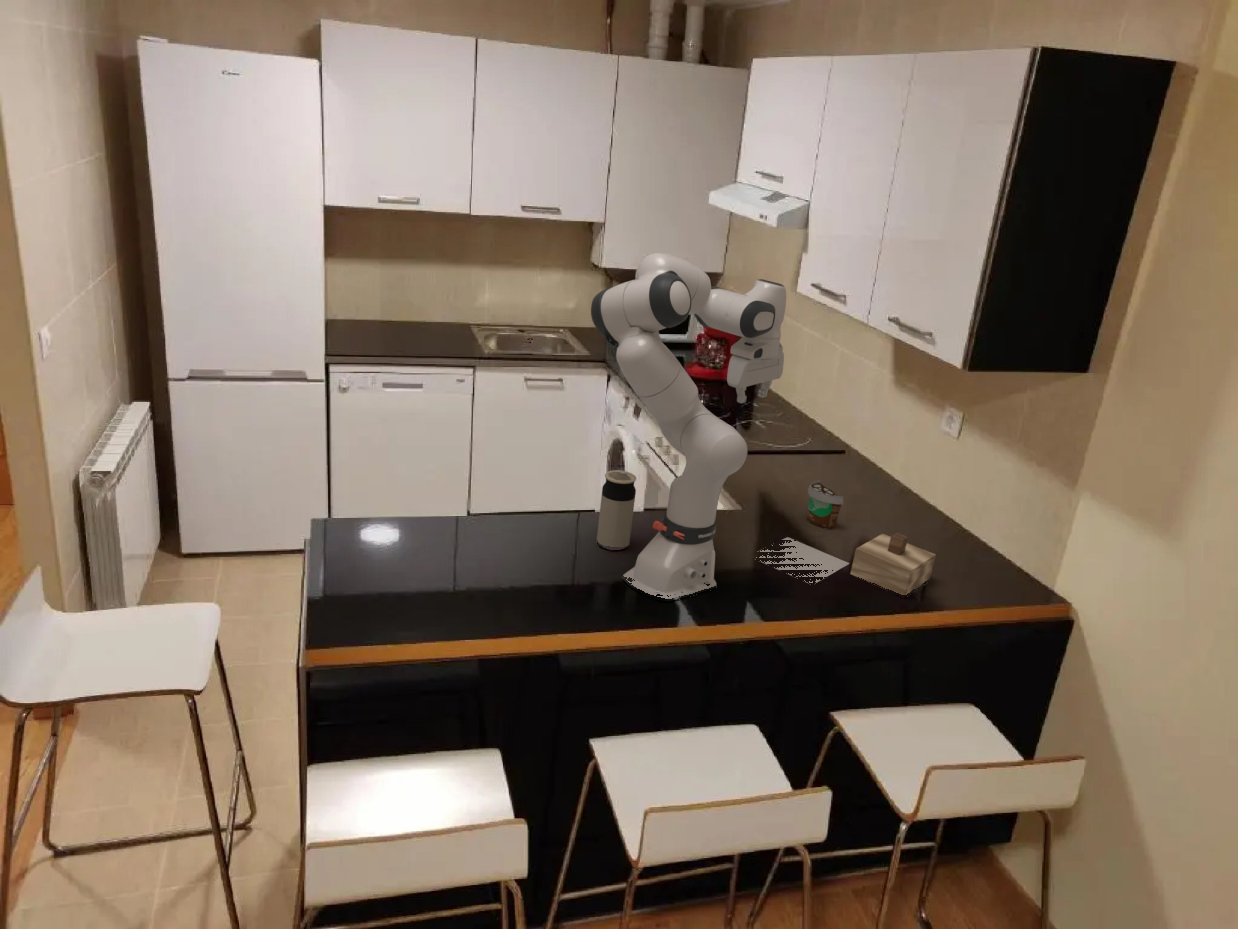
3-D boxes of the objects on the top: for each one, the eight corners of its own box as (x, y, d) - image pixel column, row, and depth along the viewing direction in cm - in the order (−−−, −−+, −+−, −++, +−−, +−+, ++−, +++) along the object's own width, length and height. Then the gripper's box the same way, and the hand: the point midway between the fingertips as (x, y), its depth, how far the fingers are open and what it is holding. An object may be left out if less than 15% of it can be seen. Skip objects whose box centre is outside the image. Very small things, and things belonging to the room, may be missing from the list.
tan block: (903, 599, 214) (914, 555, 210) (849, 575, 222) (859, 533, 218) (928, 581, 224) (939, 539, 220) (876, 559, 232) (886, 519, 228)
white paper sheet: (812, 586, 214) (812, 584, 214) (748, 557, 225) (748, 556, 225) (849, 565, 227) (849, 563, 227) (787, 538, 238) (787, 537, 238)
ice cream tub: (793, 513, 254) (800, 480, 251) (812, 512, 257) (819, 479, 253) (817, 532, 244) (824, 498, 240) (837, 531, 246) (844, 497, 242)
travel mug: (610, 554, 219) (618, 484, 212) (589, 541, 224) (597, 472, 218) (635, 547, 224) (644, 479, 217) (615, 534, 229) (622, 467, 223)
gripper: (772, 338, 236) (763, 390, 241) (726, 347, 222) (718, 402, 226) (793, 344, 233) (784, 396, 238) (748, 353, 218) (739, 409, 223)
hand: (751, 399), depth 232 cm, fingers open, 8 cm apart
